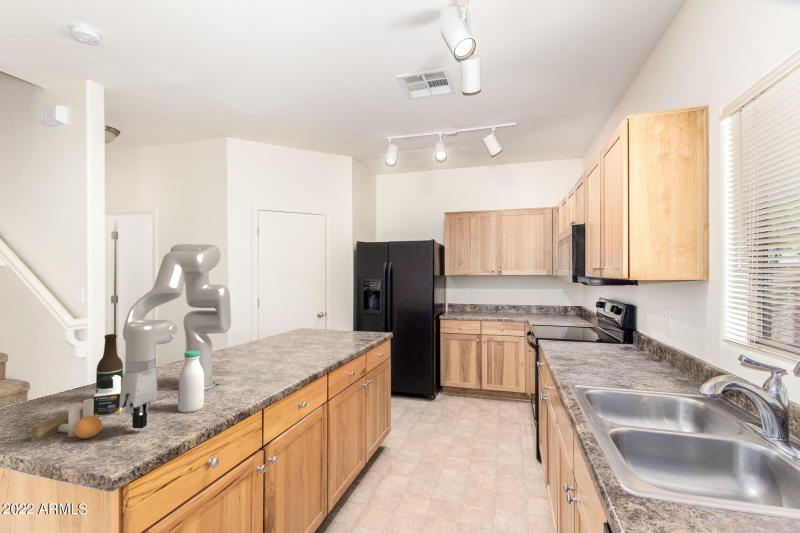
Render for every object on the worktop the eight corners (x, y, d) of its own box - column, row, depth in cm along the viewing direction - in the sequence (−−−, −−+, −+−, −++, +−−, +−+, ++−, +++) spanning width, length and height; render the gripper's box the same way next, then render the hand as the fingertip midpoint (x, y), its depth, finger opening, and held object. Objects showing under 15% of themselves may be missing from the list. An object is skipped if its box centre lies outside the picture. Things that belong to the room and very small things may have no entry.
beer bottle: (107, 403, 132) (109, 336, 132) (90, 402, 133) (91, 335, 134) (127, 396, 140) (129, 333, 140) (110, 395, 141) (112, 332, 141)
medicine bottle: (92, 417, 120) (93, 380, 120) (98, 410, 126) (99, 375, 126) (119, 414, 123) (120, 378, 123) (124, 406, 129) (124, 372, 130)
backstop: (75, 423, 115) (76, 410, 115) (38, 440, 103) (39, 426, 103) (69, 423, 115) (69, 410, 115) (31, 440, 103) (31, 426, 103)
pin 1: (79, 432, 109) (80, 404, 109) (77, 436, 107) (78, 406, 107) (69, 434, 107) (69, 405, 107) (67, 438, 105) (67, 408, 105)
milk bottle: (208, 406, 131) (209, 350, 131) (189, 414, 123) (190, 354, 123) (192, 403, 133) (193, 348, 133) (172, 411, 126) (173, 352, 126)
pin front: (94, 424, 111) (66, 423, 111) (89, 423, 109) (60, 423, 109) (91, 432, 110) (63, 432, 110) (85, 432, 108) (56, 432, 108)
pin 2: (93, 425, 114) (94, 398, 114) (92, 428, 112) (92, 400, 112) (83, 427, 112) (84, 399, 112) (81, 430, 110) (82, 401, 110)
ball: (84, 420, 109) (107, 415, 110) (81, 442, 106) (105, 436, 108) (71, 417, 104) (96, 412, 105) (68, 440, 101) (93, 434, 103)
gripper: (145, 359, 117) (144, 417, 117) (108, 372, 102) (107, 438, 102) (168, 359, 117) (167, 417, 117) (135, 372, 102) (134, 438, 102)
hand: (139, 427), depth 110 cm, fingers closed
